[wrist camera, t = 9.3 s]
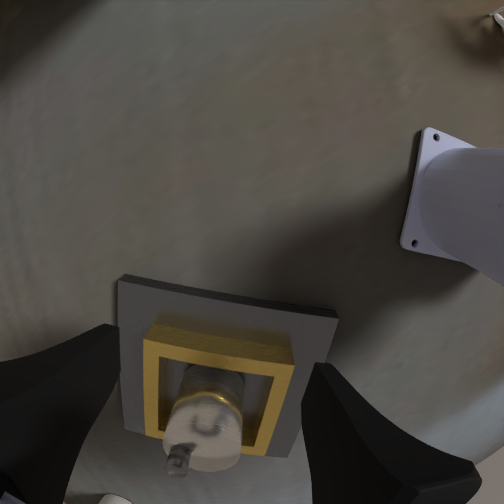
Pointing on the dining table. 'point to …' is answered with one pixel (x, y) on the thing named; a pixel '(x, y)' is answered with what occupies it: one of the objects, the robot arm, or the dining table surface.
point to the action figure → (498, 16)
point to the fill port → (218, 355)
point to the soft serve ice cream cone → (113, 500)
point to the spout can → (205, 422)
